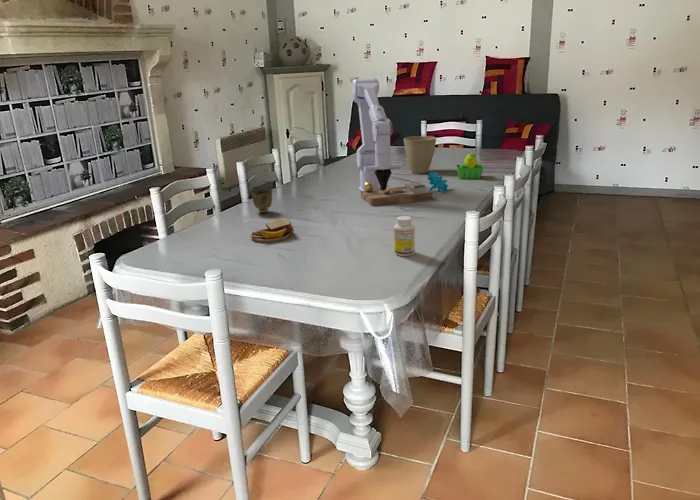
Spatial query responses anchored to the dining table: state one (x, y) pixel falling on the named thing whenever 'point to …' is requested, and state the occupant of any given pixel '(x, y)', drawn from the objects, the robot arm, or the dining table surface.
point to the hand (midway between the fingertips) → (383, 189)
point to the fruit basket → (470, 168)
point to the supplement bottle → (404, 236)
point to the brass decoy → (368, 186)
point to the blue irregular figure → (437, 182)
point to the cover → (416, 188)
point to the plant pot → (419, 152)
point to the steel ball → (387, 190)
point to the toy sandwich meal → (274, 231)
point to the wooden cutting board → (393, 196)
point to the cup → (262, 200)
